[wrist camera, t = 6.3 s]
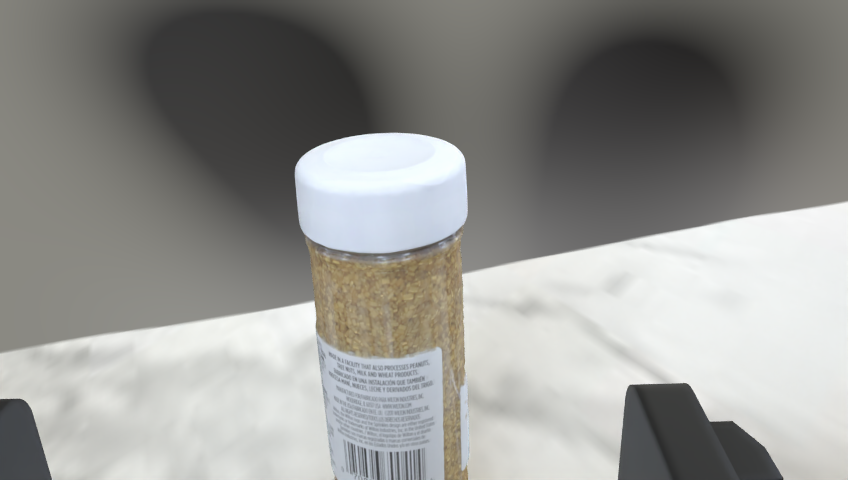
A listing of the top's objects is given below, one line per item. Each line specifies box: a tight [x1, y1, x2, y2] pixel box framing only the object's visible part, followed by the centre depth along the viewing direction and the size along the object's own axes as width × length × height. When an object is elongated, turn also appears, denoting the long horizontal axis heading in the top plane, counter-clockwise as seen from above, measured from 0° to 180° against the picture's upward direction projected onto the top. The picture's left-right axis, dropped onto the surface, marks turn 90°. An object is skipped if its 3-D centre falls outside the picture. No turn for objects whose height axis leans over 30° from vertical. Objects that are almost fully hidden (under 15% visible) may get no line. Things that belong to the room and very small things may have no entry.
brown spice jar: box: [295, 133, 469, 480], centre depth 24 cm, size 5×5×13 cm
